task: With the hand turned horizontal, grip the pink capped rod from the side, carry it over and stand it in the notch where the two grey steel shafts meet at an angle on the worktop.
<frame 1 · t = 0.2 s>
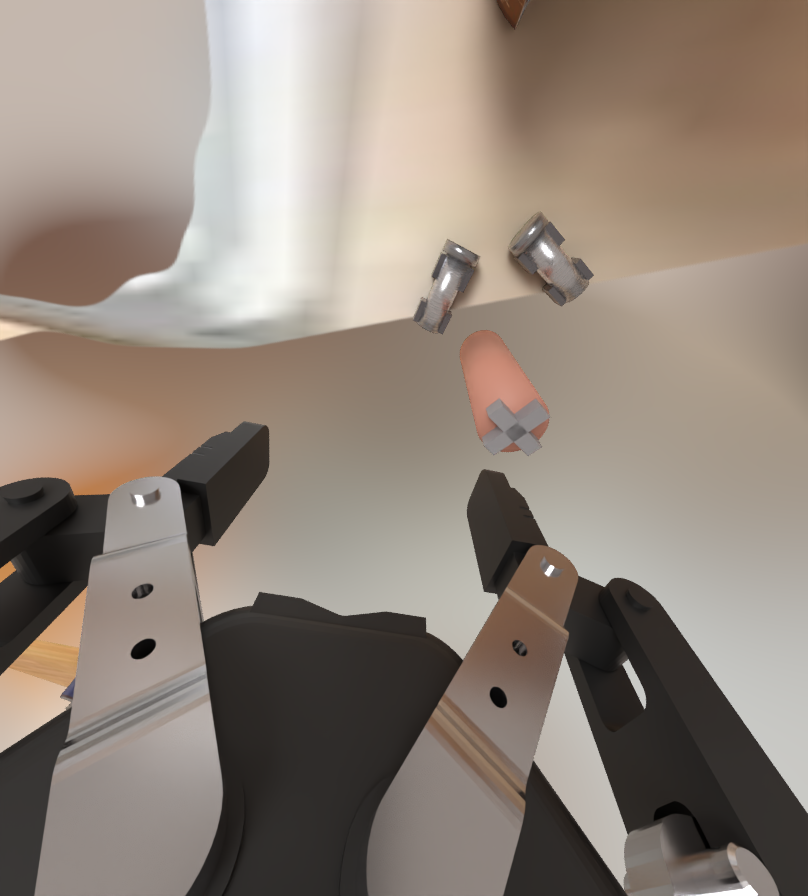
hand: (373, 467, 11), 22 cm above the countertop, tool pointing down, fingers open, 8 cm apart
pink capped rod: (481, 352, 30), on the countertop
shaft a: (551, 262, 25), on the countertop
flask: (102, 665, 95), on the countertop
shaft b: (444, 290, 26), on the countertop
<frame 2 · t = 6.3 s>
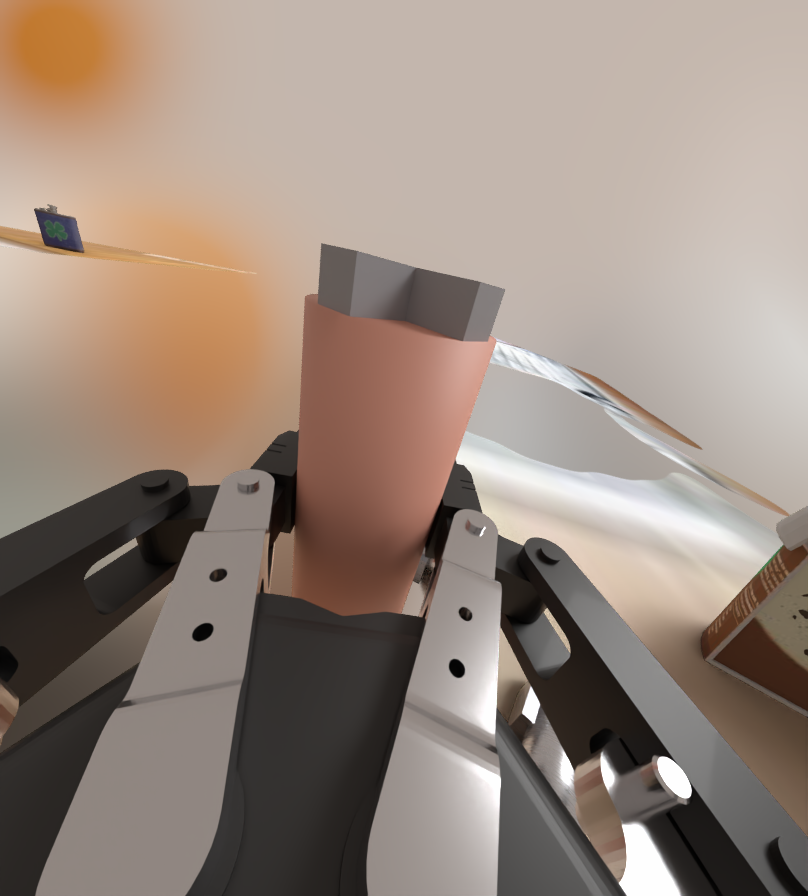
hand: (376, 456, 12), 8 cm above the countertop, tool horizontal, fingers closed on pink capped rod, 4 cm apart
pink capped rod: (340, 640, 14), on the countertop, touching gripper
shaft a: (553, 769, 10), on the countertop
food container: (781, 667, 18), on the countertop
flask: (64, 249, 92), on the countertop
shaft b: (455, 560, 18), on the countertop
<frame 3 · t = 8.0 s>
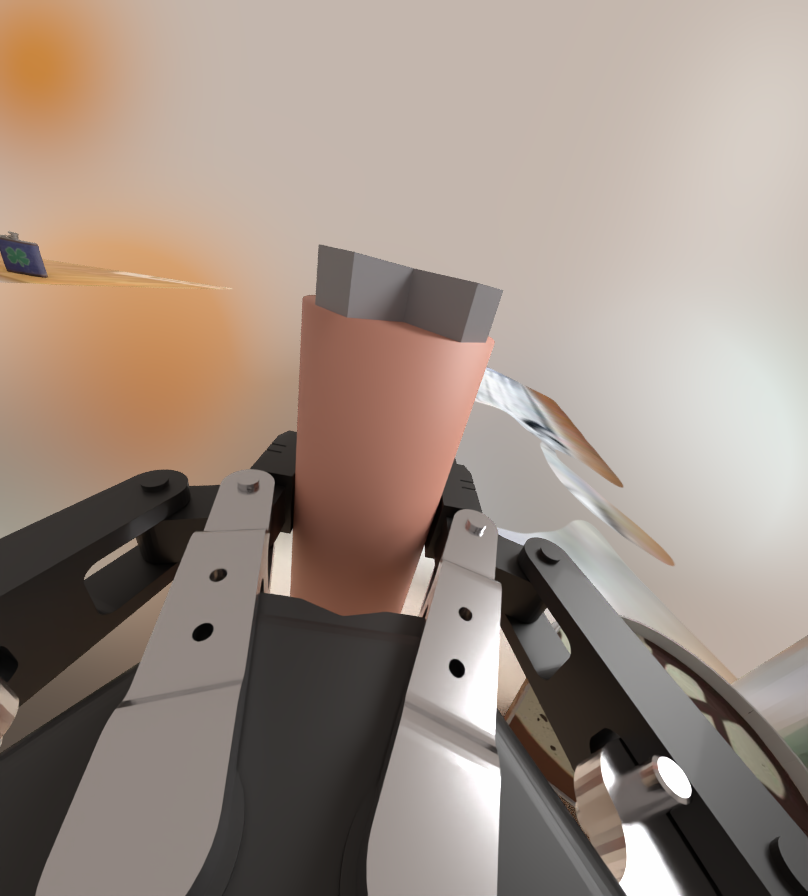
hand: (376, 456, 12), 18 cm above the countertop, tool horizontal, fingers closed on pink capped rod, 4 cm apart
pink capped rod: (339, 641, 14), point 9 cm above the countertop, touching gripper
food container: (569, 745, 20), on the countertop
flask: (27, 274, 92), on the countertop
when the fingers open (10 cm above the countertop, at t = 10.2 s): pink capped rod drops 1 cm, on the countertop.
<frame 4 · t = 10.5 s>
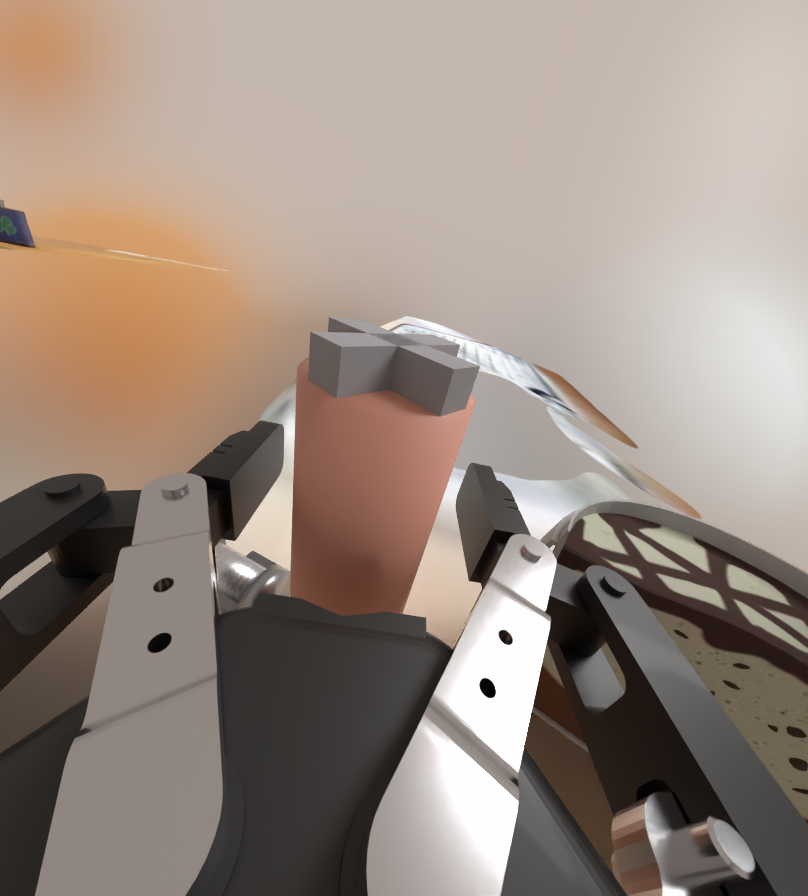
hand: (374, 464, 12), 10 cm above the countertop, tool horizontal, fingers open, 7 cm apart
pink capped rod: (336, 660, 14), on the countertop
food container: (590, 690, 16), on the countertop
flask: (14, 244, 90), on the countertop
shaft b: (221, 570, 16), on the countertop
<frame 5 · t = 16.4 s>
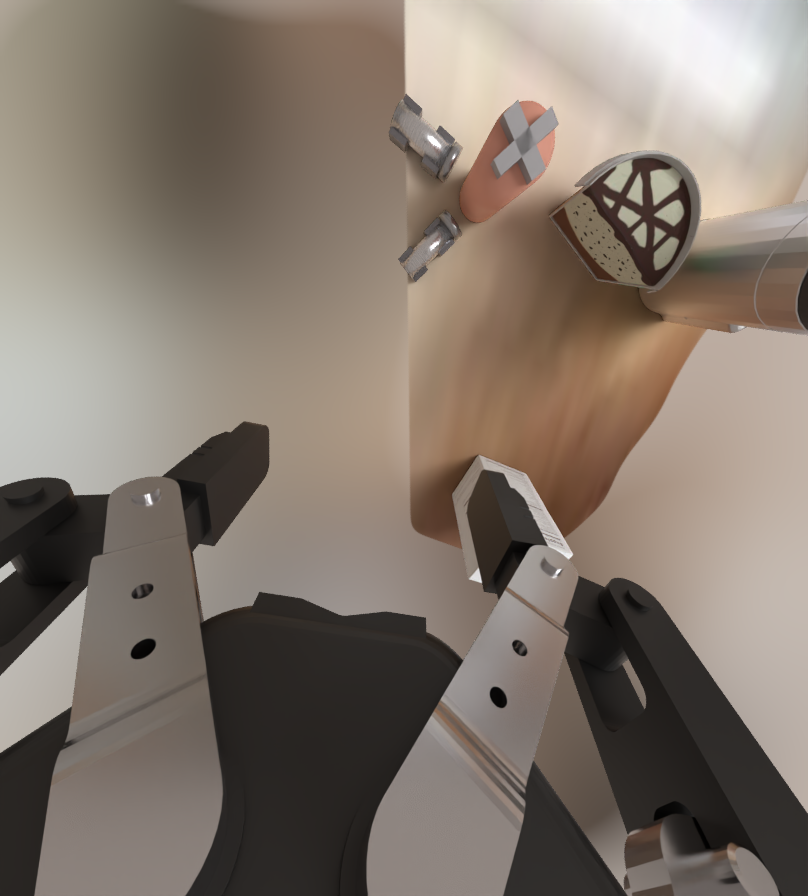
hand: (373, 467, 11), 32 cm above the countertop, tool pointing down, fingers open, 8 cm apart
supplement box: (488, 483, 51), on the countertop
pink capped rod: (480, 196, 32), on the countertop
shaft a: (429, 248, 34), on the countertop
food container: (596, 225, 33), on the countertop
shaft b: (425, 140, 29), on the countertop
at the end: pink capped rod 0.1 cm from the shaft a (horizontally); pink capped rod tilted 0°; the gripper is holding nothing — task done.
